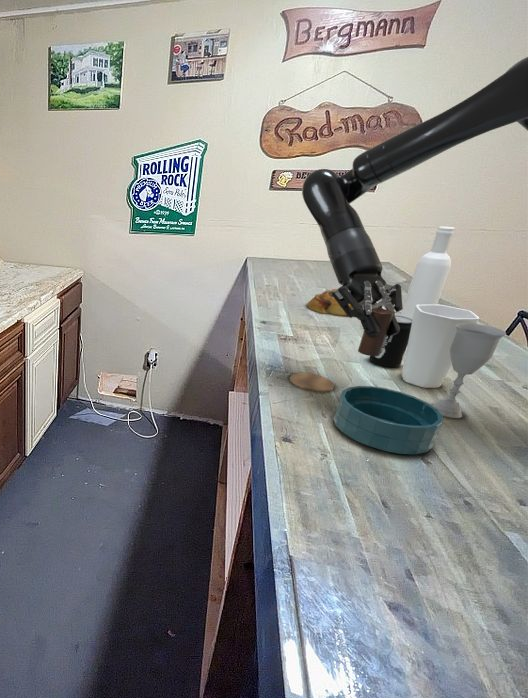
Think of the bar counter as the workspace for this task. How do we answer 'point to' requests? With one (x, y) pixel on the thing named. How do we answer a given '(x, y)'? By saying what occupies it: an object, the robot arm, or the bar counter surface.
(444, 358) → the cup
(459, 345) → the chalice
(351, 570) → the bar counter surface
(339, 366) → the bar counter surface
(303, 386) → the coaster
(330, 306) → the pastry
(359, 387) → the bowl
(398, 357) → the beverage can
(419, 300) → the bottle
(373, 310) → the brown cylinder
